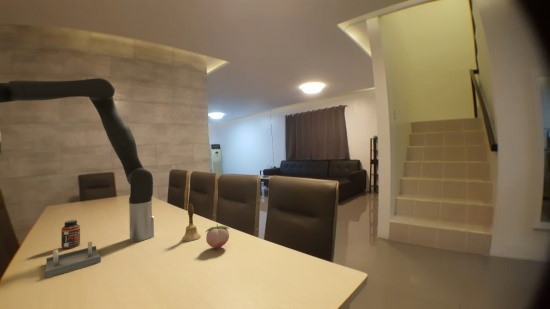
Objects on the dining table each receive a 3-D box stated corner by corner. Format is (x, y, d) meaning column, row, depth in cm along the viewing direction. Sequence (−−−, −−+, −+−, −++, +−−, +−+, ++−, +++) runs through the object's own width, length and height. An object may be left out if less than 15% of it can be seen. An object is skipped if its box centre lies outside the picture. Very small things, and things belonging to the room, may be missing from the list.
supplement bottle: (68, 250, 90) (68, 223, 90) (57, 249, 91) (57, 222, 92) (83, 244, 96) (83, 219, 96) (73, 243, 97) (72, 218, 97)
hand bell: (178, 239, 99) (177, 205, 99) (193, 233, 106) (192, 201, 106) (189, 242, 94) (188, 206, 95) (204, 236, 101) (203, 203, 102)
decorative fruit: (226, 242, 93) (226, 219, 93) (231, 249, 86) (230, 224, 86) (204, 246, 89) (203, 223, 89) (207, 254, 82) (206, 228, 82)
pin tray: (96, 251, 88) (95, 236, 88) (100, 261, 79) (100, 245, 79) (46, 263, 78) (46, 247, 78) (45, 278, 68) (44, 259, 69)
